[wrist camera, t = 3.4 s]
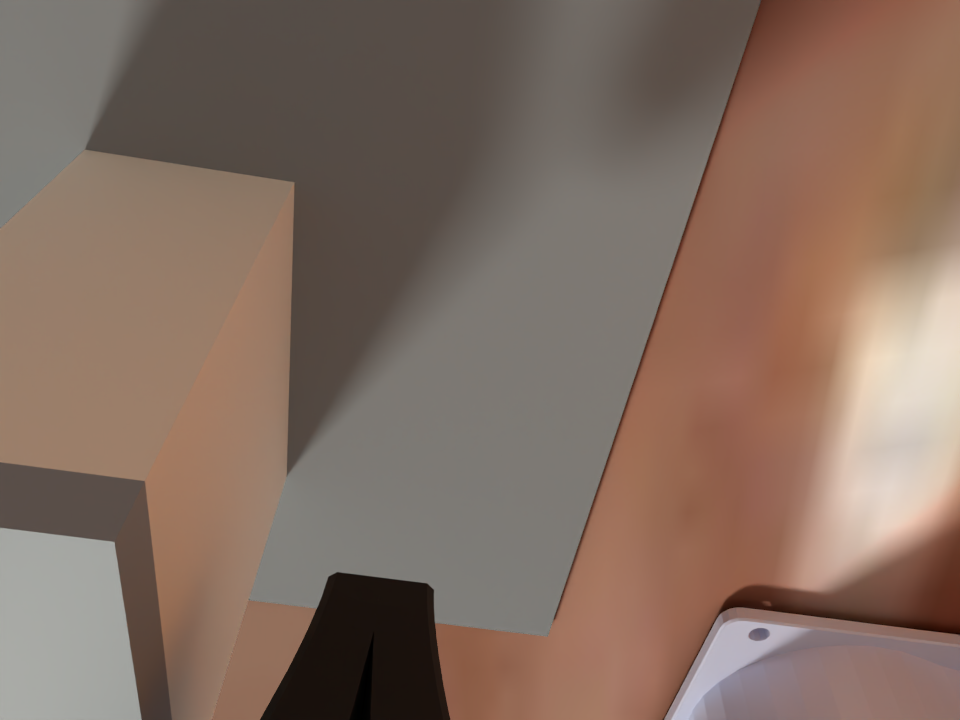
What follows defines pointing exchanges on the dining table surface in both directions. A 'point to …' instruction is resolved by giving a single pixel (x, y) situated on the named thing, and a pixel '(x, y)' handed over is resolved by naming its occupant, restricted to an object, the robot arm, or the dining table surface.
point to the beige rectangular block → (138, 432)
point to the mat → (417, 244)
